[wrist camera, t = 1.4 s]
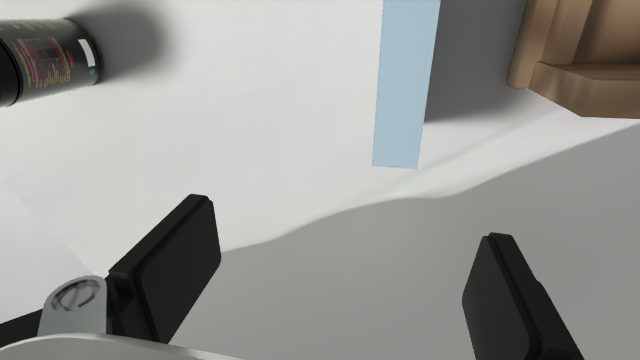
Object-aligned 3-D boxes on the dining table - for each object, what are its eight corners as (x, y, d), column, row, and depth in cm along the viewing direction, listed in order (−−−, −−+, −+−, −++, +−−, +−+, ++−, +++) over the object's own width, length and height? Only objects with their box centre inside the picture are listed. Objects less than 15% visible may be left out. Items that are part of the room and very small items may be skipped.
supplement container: (35, 25, 33) (-100, 30, 24) (85, 10, 31) (-40, 8, 22) (69, 91, 36) (-39, 117, 27) (117, 80, 34) (18, 104, 25)
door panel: (388, -25, 25) (386, -45, 17) (427, -26, 25) (447, -48, 16) (377, 123, 31) (372, 165, 22) (409, 124, 30) (416, 169, 22)
